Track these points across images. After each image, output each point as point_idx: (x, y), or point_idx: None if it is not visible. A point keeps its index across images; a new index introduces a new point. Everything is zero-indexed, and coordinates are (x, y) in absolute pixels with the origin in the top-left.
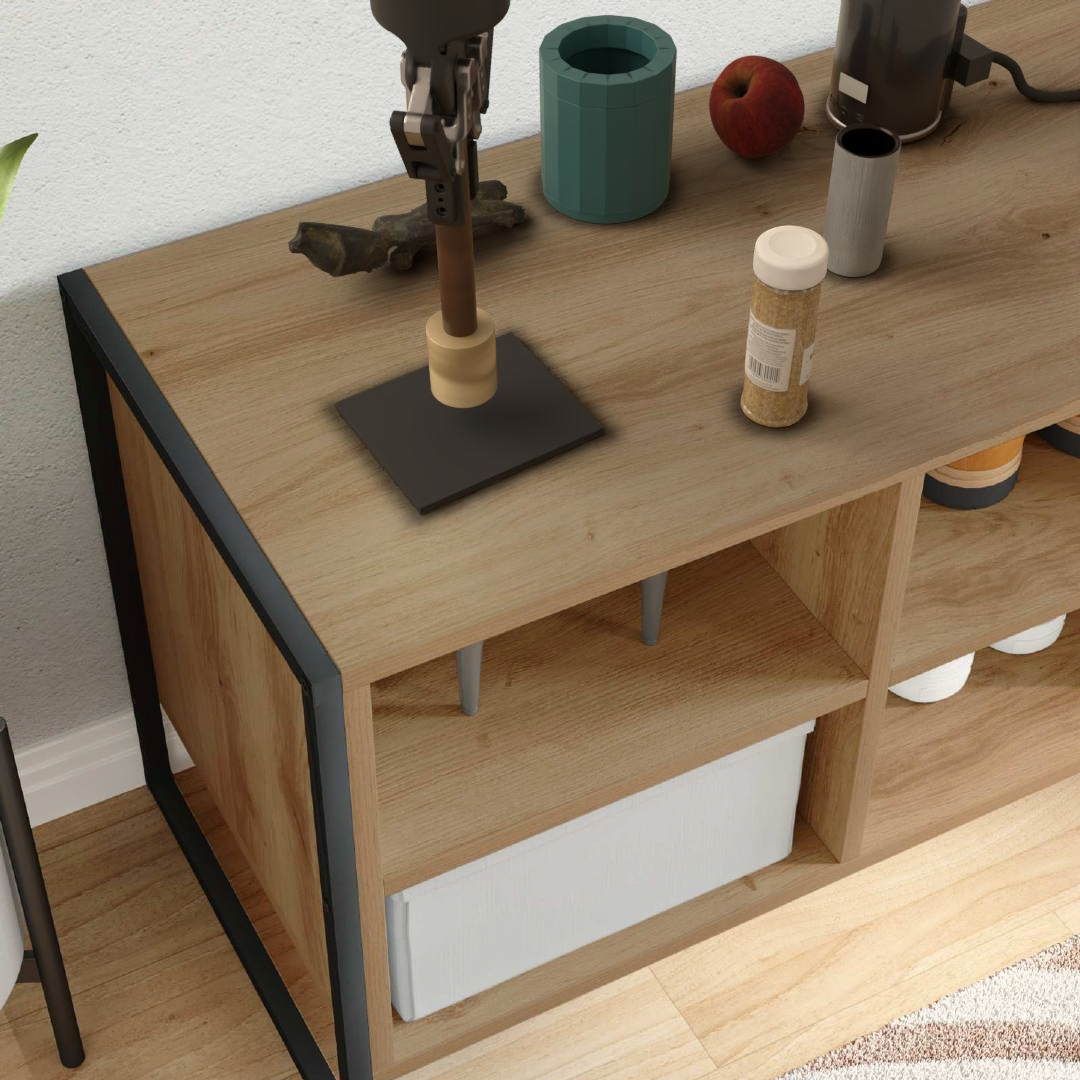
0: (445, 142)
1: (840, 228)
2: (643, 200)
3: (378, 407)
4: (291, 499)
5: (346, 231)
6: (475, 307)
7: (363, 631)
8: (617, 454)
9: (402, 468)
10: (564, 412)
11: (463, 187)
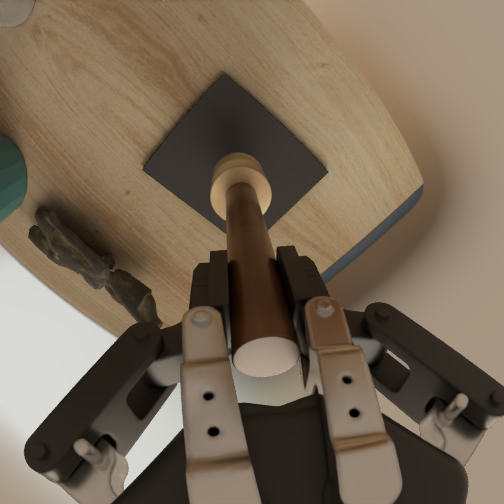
0: (442, 367)
1: (12, 5)
2: (4, 143)
3: None
4: (323, 242)
5: (131, 304)
6: (243, 190)
7: (405, 178)
8: (243, 60)
9: (296, 192)
10: (215, 104)
11: (298, 277)
